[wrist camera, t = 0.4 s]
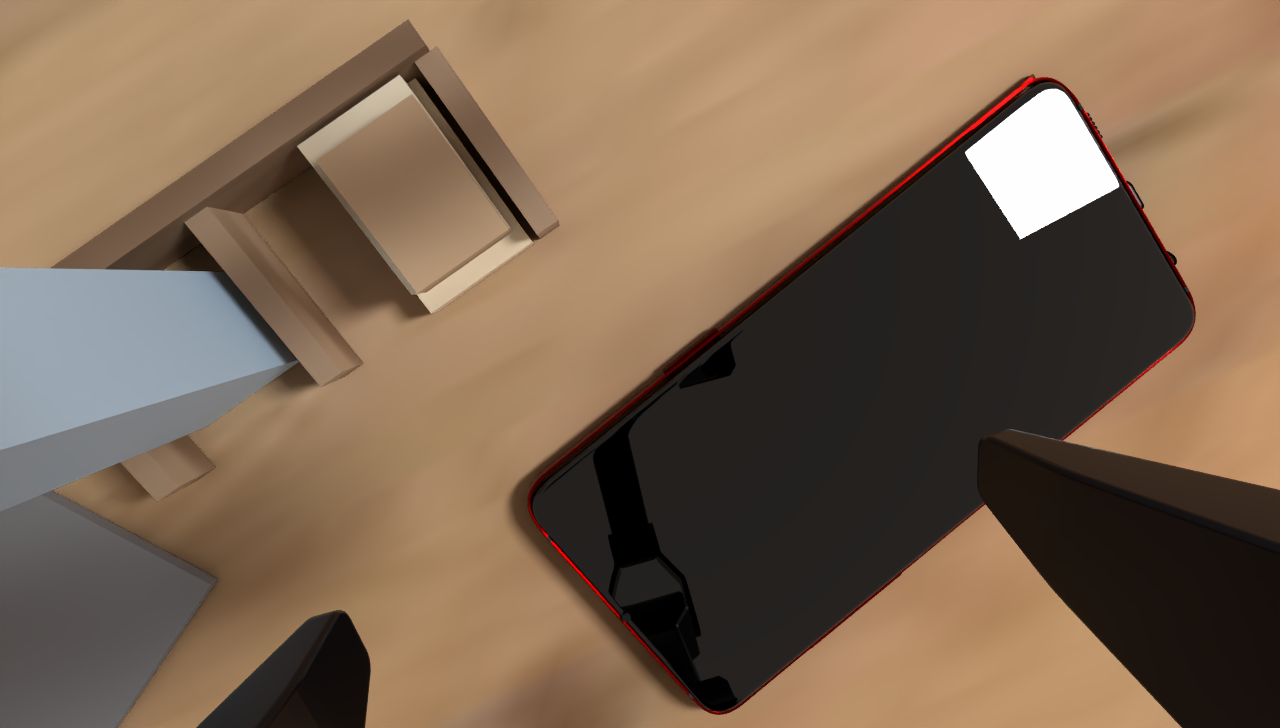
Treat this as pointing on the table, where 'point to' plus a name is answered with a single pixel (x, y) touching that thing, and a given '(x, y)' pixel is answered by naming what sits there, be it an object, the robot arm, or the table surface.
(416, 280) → the offcut stack
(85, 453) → the block
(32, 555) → the mat
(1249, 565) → the robot arm
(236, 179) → the rack
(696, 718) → the table surface
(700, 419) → the smartphone
